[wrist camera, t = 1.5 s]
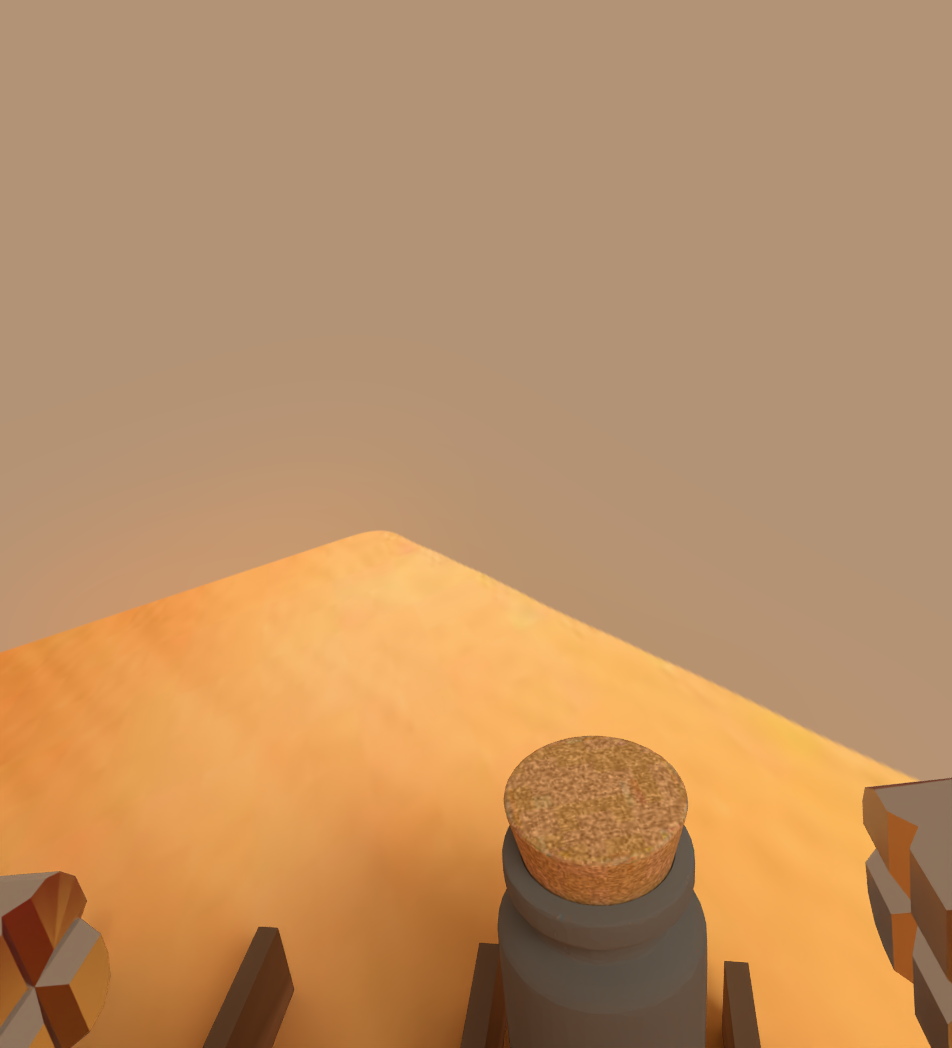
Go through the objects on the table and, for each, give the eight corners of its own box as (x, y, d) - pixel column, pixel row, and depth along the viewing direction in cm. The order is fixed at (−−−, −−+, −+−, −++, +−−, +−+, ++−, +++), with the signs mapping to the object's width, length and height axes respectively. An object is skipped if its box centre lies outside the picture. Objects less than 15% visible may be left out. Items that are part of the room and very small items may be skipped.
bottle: (534, 1049, 31) (500, 717, 25) (697, 1069, 30) (704, 725, 24) (510, 1234, 26) (461, 871, 20) (707, 1268, 24) (719, 892, 18)
